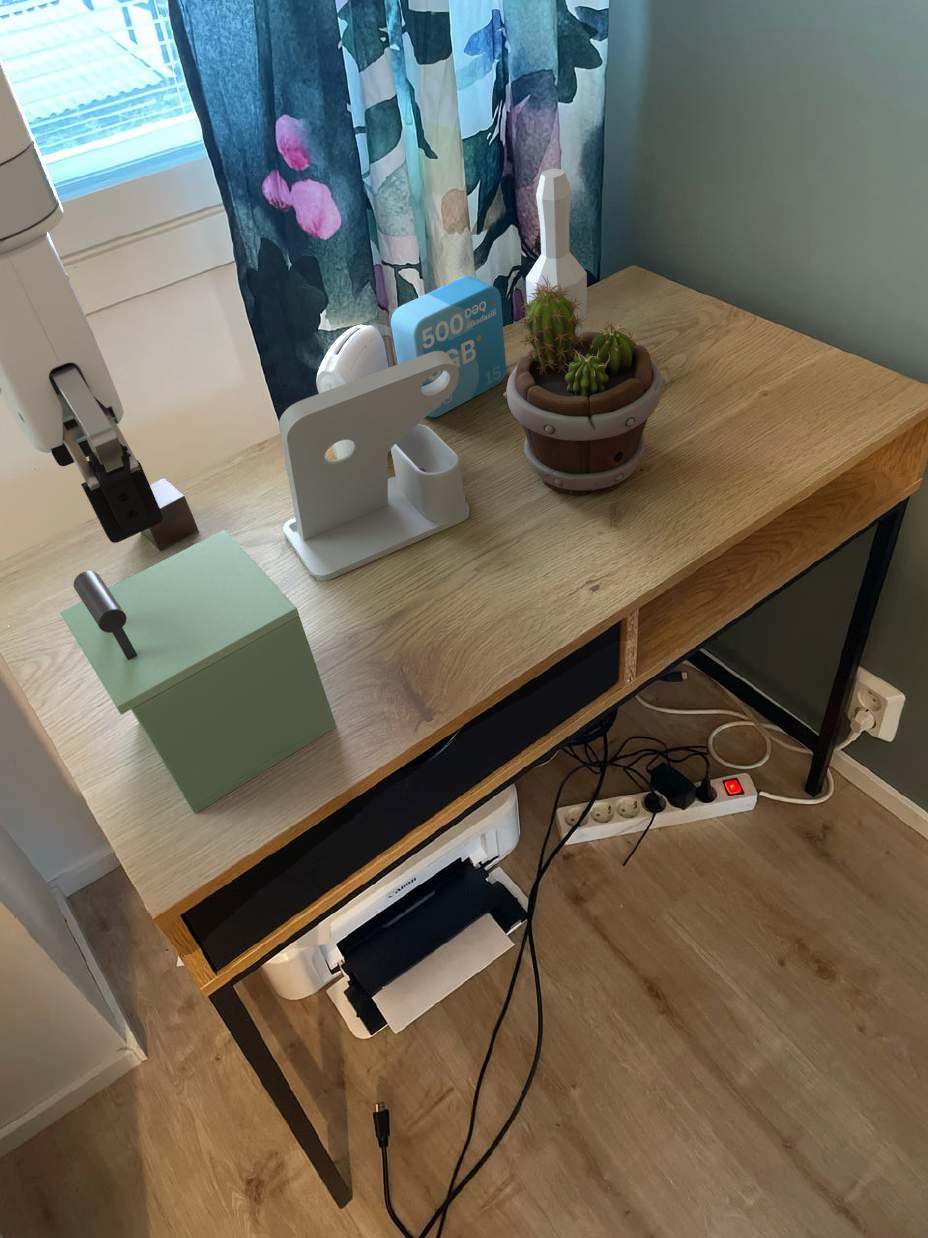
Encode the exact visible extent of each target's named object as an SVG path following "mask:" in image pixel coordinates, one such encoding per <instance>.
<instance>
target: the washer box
mask: <svg viewBox="0 0 928 1238" xmlns="http://www.w3.org/2000/svg"><path fill="white" fill-rule="evenodd" d="M130 711H131V712H132V714H133V715H134V717H135V719H136V721H137V722H138V724H139V726H140V727H141V729H142V730H143V732H144V734H145V736H146V737H147V738H148V740H149V742H150V743H151V745H152V747H153V748H154V750H155V752H156V753H157V755H158V756H159V758H160V760H161V761H162V763H163V765H164V766H165V768H166V769H167V771H168V773H169V775H170V776H171V778H172V779H173V781H174V783H175V785H176V786H177V787H178V789H179V791H180V792H181V794H182V796H183V797H184V799H185V800H186V802H187V804H188V805H189V808H190V809H191V811H192V812H193V814H194V815H195V814H197V813H199V812H201V811H203V810H204V809H206V808H207V807H209V806H210V805H212V804H214V803H215V802H217V801H218V800H220V799H222V798H223V797H225V796H227V795H228V794H230V793H232V792H234V791H235V790H236V789H238V788H240V787H241V786H243V785H244V784H246V783H248V782H249V781H251V780H253V779H254V778H256V777H257V776H259V775H261V774H262V773H264V772H265V771H268V770H269V769H270V768H271V767H272V768H273V766H275V765H277V764H278V763H280V762H282V761H283V760H285V759H286V758H288V757H290V756H292V755H293V754H295V753H296V752H298V751H300V750H301V749H303V748H305V747H306V746H308V745H309V744H311V743H312V742H314V741H315V740H317V739H319V738H321V736H323V735H325V734H327V733H329V732H330V731H332V730H333V729H335V728H336V727H337V724H336V720H335V718H334V715H333V712H332V709H331V705H330V702H329V700H328V697H327V694H326V691H325V688H324V685H323V681H322V680H321V676H320V673H319V670H318V666H317V665H316V662H315V658H314V655H313V652H312V649H311V647H310V643H309V641H308V636H307V634H306V632H305V628H304V625H303V623H302V619H301V616H300V615H299V616H297V617H296V618H294V619H292V620H290V621H288V622H287V623H285V624H283V625H281V626H280V627H278V628H276V629H274V630H272V631H271V632H269V633H267V634H265V635H263V636H262V637H260V638H258V639H256V640H254V641H253V642H251V643H249V644H247V645H245V646H244V647H242V648H240V649H238V650H236V651H235V652H233V653H231V654H229V655H227V656H226V657H224V658H222V659H220V660H218V661H217V662H215V663H213V664H211V665H209V666H208V667H206V668H204V669H202V670H201V671H199V672H197V673H195V674H193V675H192V676H190V677H188V678H186V679H184V680H183V681H181V682H179V683H177V684H175V685H174V686H172V687H170V688H168V689H166V690H165V691H163V692H161V693H159V694H157V695H156V696H154V697H152V698H150V699H148V700H147V701H145V702H143V703H141V704H139V705H138V706H136V707H134V708H132V709H131V710H130Z"/></svg>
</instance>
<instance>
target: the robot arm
mask: <svg viewBox="0 0 928 1238" xmlns="http://www.w3.org/2000/svg"><path fill="white" fill-rule="evenodd" d="M36 142H37V141H36V140H35V137H34V135H33V133H32V130H31V128H30V125H29V122H28V120H27V118H26V116H25V113H24V110H23V108H22V105H21V103H20V100H19V98H18V96H17V94H16V90H15V89H14V86H13V84H12V82H11V79H10V76H9V74H8V72H7V70H6V67H5V65H4V62H3V60H2V58H1V56H0V398H1V400H2V402H3V403H4V405H5V407H6V408H7V410H8V411H9V413H10V414H11V416H12V417H13V419H14V420H15V422H16V424H17V425H18V427H19V428H20V429H21V432H23V434H24V435H25V437H26V439H27V440H28V442H29V443H30V444H31V445H32V447H33V448H34V449H35V450H37V451H39V452H41V453H46V454H49V453H51V455H52V457H53V458H54V460H55V462H56V463H57V465H59V466H60V467H67V466H70V465H72V464H74V463H75V465H76V467H77V469H78V470H79V472H80V474H81V476H82V478H83V479H84V482H82V483H80V485H81V487H82V489H83V492H84V494H85V495H86V497H87V500H88V502H89V503H90V505H91V507H92V510H93V511H94V513H95V515H96V517H97V519H98V521H99V523H100V525H101V528H102V529H103V531H104V533H105V536H106V537H107V538H108V540H109V541H110V542H111V543H114V544H117V543H120V542H123V541H124V540H127V539H129V538H131V537H133V536H135V535H138V534H140V533H141V532H142V531H144V530H146V529H148V528H150V527H152V526H155V525H157V524H159V523H160V522H161V521H162V520H163V515H162V512H161V510H160V508H159V506H158V503H157V501H156V499H155V496H154V494H153V492H152V489H151V487H150V485H151V484H150V482H149V480H148V477H147V474H146V473H145V471H144V469H143V466H142V464H141V462H140V461H139V460H138V459H137V458H136V457H135V454H134V453H133V451H132V449H131V447H130V445H129V443H128V442H127V440H126V439H125V436H124V434H123V432H122V431H121V428H120V427H119V425H118V424H120V422H121V421H122V419H123V417H124V414H125V413H124V408H123V404H122V401H121V399H120V396H119V393H118V391H117V388H116V386H115V384H114V380H113V377H112V376H111V373H110V371H109V368H108V365H107V363H106V361H105V359H104V356H103V354H102V351H101V349H100V346H99V344H98V341H97V340H96V337H95V334H94V333H93V330H92V327H91V326H90V323H89V321H88V319H87V316H86V314H85V312H84V310H83V307H82V305H81V303H80V300H79V298H78V295H77V294H76V292H75V289H74V286H73V285H72V282H71V280H70V276H69V274H68V273H67V271H66V269H65V267H64V265H63V262H62V260H61V258H60V256H59V254H58V252H57V249H56V247H55V245H54V243H53V241H52V238H51V236H50V234H49V232H51V231H52V230H54V229H55V227H57V226H58V225H59V224H60V222H61V221H62V219H63V217H64V208H63V206H62V204H61V201H60V199H59V197H58V194H57V191H56V189H55V187H54V184H53V181H52V180H51V177H50V175H49V172H48V169H47V167H46V164H45V162H44V159H43V157H42V154H41V152H40V150H39V147H38V145H37V143H36ZM87 458H88V459H87Z"/></svg>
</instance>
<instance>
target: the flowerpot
mask: <svg viewBox="0 0 928 1238" xmlns="http://www.w3.org/2000/svg"><path fill="white" fill-rule="evenodd" d="M542 276H543V275H542ZM543 278H544V276H543ZM544 280H545V282H546V284H547V287H546V286H545V285H543V286H542V285H539V284H538V282H537V283H535V284H537V285H539V286H541V288H542V289H543V290H539V287H538V288H537V289H538V290H536V289H534V290H536V291H538V293H531V294H533V295H534V294H535V295H536V294H537V297H536V296H535V295H534V296H535V298H534V297H532V298H534V300H531V301H532V302H531V303H530V300H529V304H528V303H527V297H526V299H525V300H524V303H523V302H522V301H519V303H520V304H521V305H523V306H522V307H521V309H523V308H526V309H524V310H523V311H522V313H524V312H526V313H525V314H524V318H525V319H524V318H523V317H522V316H521V315H519V317H520V321H519V320H516V322H517V326H518V325H521V326H519V328H521V327H522V328H521V331H523V330H524V329H525V330H527V332H528V334H527V333H523V332H521V334H522V336H523V337H524V338H523V337H522V339H523V340H521V341H519V342H520V343H524V344H523V348H526V346H527V345H528V346H529V347H531V346H532V347H531V348H530V350H529V351H528V352H527V355H523V356H521V357H520V359H519V360H518V362H517V365H516V366H515V367H514V369H513V370H512V371H511V373H510V375H509V377H508V380H507V383H506V391H505V392H504V393H503V397H504V398H505V399H507V405H508V407H509V411H510V412H511V414H512V416H514V418H515V419H516V420H517V421H518V422H519V423H520V424H521V426H522V430H523V432H524V435H525V441H524V451H523V456H524V457H525V458H526V460H527V462H528V465H529V467H530V468H531V470H532V471H533V473H534V474H535V475H536V476H537V477H539V479H540V480H541V481H542V482H543V483H544V485H545V486H546V487H549V488H550V489H553V490H554V491H557V492H558V493H561V494H563V493H565V492H569V494H571V495H573V496H582V495H586V494H587V493H588V492H589V493H591V494H593V495H595V494H596V495H597V494H602V493H603V494H604V493H606V492H609V491H611V490H613V489H616V488H617V487H619V486H621V485H622V484H623V483H625V482H626V481H627V480H628V478H629V477H630V476H631V475H632V474H633V473H634V472H635V471H636V469H637V468H638V466H639V465H640V462H641V460H642V457H643V455H644V451H645V448H646V446H647V444H646V438H645V434H644V430H645V428H646V425H647V423H648V419H649V418H650V417H651V416H652V415H653V413H655V411H656V409H657V408H658V406H659V404H660V400H661V398H662V394H663V388H664V385H665V383H666V379H665V378H664V377H663V376H662V373H661V370H660V368H659V366H658V365H657V364H656V363H655V361H653V359H652V358H651V357H652V356H651V354H650V352H649V350H648V349H647V348H646V346H645V345H642V344H637V343H636V341H635V339H634V338H633V335H632V334H633V332H632V331H631V330H630V329H627V328H626V331H627V333H628V335H629V336H628V335H627V334H625V333H622V332H625V328H623V327H621V326H622V325H619V326H618V327H617V329H615V325H617V322H612V323H609V322H607V321H605V323H606V325H607V327H606V326H604V327H602V328H601V329H603V330H604V332H603V331H602V330H601V329H598V331H584V333H581V334H580V335H579V337H578V335H577V334H578V332H577V334H575V329H576V325H577V324H578V323H579V324H580V323H581V319H582V318H583V317H584V316H583V317H582V318H581V319H580V318H579V319H578V314H577V316H576V317H577V319H576V317H575V315H574V310H575V309H576V308H577V306H578V305H580V304H579V303H578V304H577V305H575V303H576V302H579V301H576V300H574V301H575V302H574V301H573V302H574V304H573V302H572V299H571V302H570V300H569V299H568V300H567V299H566V298H565V297H563V296H565V295H568V294H565V293H567V292H566V291H565V290H566V289H565V290H564V291H563V293H562V289H561V290H559V286H560V284H558V285H555V286H554V287H552V286H551V287H552V288H551V287H550V284H549V289H548V283H549V281H548V276H547V281H546V279H545V278H544ZM542 284H543V283H542ZM544 286H545V287H544ZM557 286H558V288H557V289H558V290H557V291H556V289H555V288H556V287H557ZM546 288H547V290H546ZM550 288H551V289H550ZM560 288H561V287H560ZM553 289H555V291H556V292H554V290H553ZM567 289H568V288H567ZM552 290H553V291H552ZM541 291H542V292H541ZM543 291H544V292H543ZM559 292H560V293H559ZM568 292H569V291H568ZM529 297H531V296H529ZM566 297H567V296H566ZM574 299H576V298H574ZM581 304H583V303H581ZM579 307H580V306H579ZM578 309H579V308H578ZM580 310H581V309H580ZM581 311H582V310H581ZM575 312H576V311H575ZM581 315H582V313H581ZM580 317H581V316H580ZM587 319H588V318H587V317H586V319H585V321H586V320H587ZM579 320H580V321H579ZM583 321H584V320H582V322H583ZM578 326H579V325H578ZM580 326H582V324H580ZM609 328H610V331H609V330H608V329H609ZM577 329H578V327H577ZM581 329H582V327H581ZM620 330H621V331H620ZM581 331H582V330H581ZM599 331H600V332H599ZM524 334H525V335H524ZM576 335H577V336H576ZM634 341H635V342H634Z"/></svg>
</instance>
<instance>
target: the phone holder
mask: <svg viewBox="0 0 928 1238" xmlns="http://www.w3.org/2000/svg"><path fill="white" fill-rule="evenodd" d="M388 367H389V366H388ZM438 371H443V372H442V374H441V375H440V376H439V377H438V378H437V379H436V380H435V381H434V382H432V383H430V384H428V385H426V386H422V385H423V383H424V381H425V380H426V379H427V378H428V377H429V376H430V375H432V374H433V373H435V372H438ZM458 376H459V371H458V369H457V367H456V366H455V364H454V363H453V361H452V360H451V358H450V357H449V356H448V354H447V353H445V352H443V351H434V352H430V353H427V354H425V355H422V356H419V357H417V358H414V359H411V360H408V361H406V362H403V363H400V364H398V363H397V364H395V365H393V366H390V367H389V368H387V369H384V370H381V371H379V372H376V373H373V374H371V375H368V376H365V377H363V378H360V379H357V380H355V381H352V382H349V383H347V384H344V385H341V386H339V387H336V388H333V389H331V390H328V391H325V392H323V393H320V394H319V393H317V394H314V395H312V396H309V397H306V398H304V399H301V400H299V401H297V402H295V403H293V404H291V405H289V407H287V408H286V409H285V411H284V412H283V413H282V414H281V416H280V418H279V421H278V429H279V434H280V440H281V446H282V451H283V456H284V463H285V468H286V474H287V479H288V485H289V490H290V497H291V501H292V508H293V512H294V517H292V518H290V519H288V520H287V521H286V522H284V524H283V526H282V530H283V533H284V537H285V539H287V541H288V543H289V544H290V545H291V547H292V549H293V550H294V552H295V553H296V554H297V556H298V558H299V559H300V560H301V562H302V564H303V565H304V566H305V568H306V570H307V571H308V572H309V574H310V575H311V577H314V578H316V581H320V582H325V581H330V580H333V579H335V578H337V577H339V576H341V575H344V574H346V573H349V572H352V571H353V570H356V569H358V568H361V567H362V566H365V565H367V564H369V563H371V562H374V561H376V560H378V559H380V558H383V557H385V556H387V555H390V554H392V553H394V552H397V551H398V550H401V549H403V548H406V547H409V546H410V545H412V544H415V543H417V542H419V541H421V540H423V539H426V538H429V537H431V536H433V535H435V534H437V533H439V532H440V533H441V532H443V531H444V530H446V529H449V528H451V527H453V526H456V525H458V524H460V523H463V522H465V521H466V520H468V518H469V517H470V506H469V504H468V503H467V501H466V497H465V489H464V480H463V473H462V466H461V459H460V456H459V455H458V454H457V453H456V451H454V449H452V447H450V446H449V445H448V444H447V443H446V441H444V440H443V439H442V438H441V437H440V436H439V435H438V434H437V433H436V432H435V431H434V430H433V429H432V428H431V427H429V426H428V425H426V424H422V423H421V422H422V421H423V420H424V419H425V418H426V417H428V415H429V414H430V413H431V412H432V411H433V410H434V409H435V408H436V407H437V406H439V405H440V404H441V403H442V402H443V401H444V400H445V399H446V398H448V397H449V396H450V395H451V394H452V393H453V391H454V390H455V389H456V387H457V384H458ZM341 440H351V441H353V443H354V446H352V447H351V448H350V449H349V454H348V455H347V456H346V457H344V458H342V459H340V460H339V459H336V460H329V458H326V454H327V451H328V450H329V449H330V448H331V447H332V445H333V444H335V443H337V442H339V441H341ZM389 453H391V458H392V459H391V460H392V464H393V468H394V474H395V475H393V476H392V477H389V475H388V474H389V471H388V463H389V462H388V455H389ZM388 477H389V478H388Z"/></svg>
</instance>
